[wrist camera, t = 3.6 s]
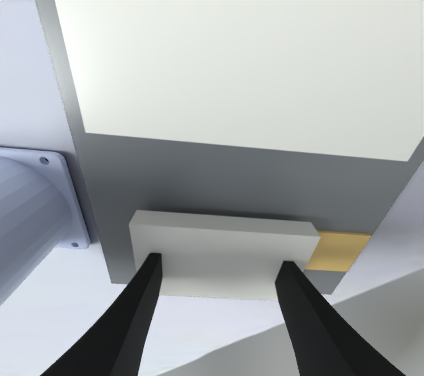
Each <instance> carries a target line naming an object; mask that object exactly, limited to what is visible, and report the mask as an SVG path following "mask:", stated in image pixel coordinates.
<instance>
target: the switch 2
mask: <svg viewBox="0 0 424 376" xmlns="http://www.w3.org/2000/svg"><path fill="white" fill-rule="evenodd" d="M129 229H130V235H131V241H132V247H133V254H134V260H135V266H136V273H137V271H138V270H139V268H140V267H141V266H142V264H143V263H144V261H145V259H146V258H147V256H148V255H149V254H150V253H161V254H162V272H163V278H162V283H161V288H160V293H159V295H164V296H185V297H206V298H227V299H248V300H269V301H278V297H277V293H276V288H275V280H276V278H277V275H278V273H279V270H280V268H281V266H282V263H283V261H294V262H295V263H296V265H297V266H298V267H299V268H300V270H301V271H302V272H303V271H304V269H305V267H306V265H307V264H308V262H309V260H310V258H311V256H312V254H313V252H314V250H315V248H316V246H317V244H318V242H319V240H320V238H321V236H320V235H319V233H318V232H317V230H316V229H315V227H314V226H313V225H312V223H311V222H302V221H288V220H274V219H259V218H245V217H231V216H217V215H203V214H188V213H174V212H160V211H146V210H136V212H135V214H134V216H133V218H132V219H131V221H130V223H129Z"/></svg>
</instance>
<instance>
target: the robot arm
mask: <svg viewBox="0 0 424 376" xmlns="http://www.w3.org/2000/svg"><path fill="white" fill-rule="evenodd" d="M45 158H46V159H48V161H49V162H47V161H46V160H45ZM90 244H91V242H90V239H89V236H88V232H87V229H86V226H85V223H84V219H83V216H82V213H81V209H80V206H79V203H78V200H77V196H76V193H75V190H74V187H73V183H72V180H71V177H70V174H69V170H68V167H67V164H66V161H65V159H64V157H63V156H62V155H61V154H59V153H57V152H50V151H38V150H26V149H14V148H2V147H0V306H1V305H2V304H3V303H4V302H5V300H6V299H7V298H8V297H9V296H10V295H11V294H12V293H13V292H14V291H15V290H16V289H17V287H18V286H19V285H20V284H21V283H22V282H23V281H24V280H25V279H26V278H27V277H28V276H29V274H30V273H31V272H32V271H33V270H34V269H35V268H36V267H37V266H38V265H39V264H40V263H41V261H42V260H43V259H44V258H45V257H46V256H47V255H48V254H49V253H50V252H51V251H52V249H53V248H69V249H87V248H88V247H89V246H90ZM162 278H163V272H162V254H161V253H150V254H149V255H148V256H147V258H146V259H145V261H144V263H143V264H142V266H141V267H140V268H139V270H138V271H137V273H136V274H135V276H134V277H133V278H132V280H131V281H130V282H129V284H128V285H127V286H126V288H125V289H124V290H123V291H122V293H121V294H120V295H119V296H118V297H117V299H116V300H115V301H114V302H113V304H112V305H111V306H110V307H109V308H108V309H107V310H106V312H105V313H104V314H103V315H102V316H101V317H100V318H99V319H98V320H97V321H96V323H95V324H94V325H93V326H92V327H91V328H90V329H89V330H88V331H87V332H86V333H85V334H84V335H83V336H82V337H81V338H80V339H79V340H78V341H77V342H76V343H75V344H74V345H73V346H72V347H71V348H70V349H69V350H68V351H66V352H65V353H64V354H63V355H62V356H61V357H60V358H59V359H58V360H57V361H56V362H55V363H53V364H52V365H51V366H50V367H49V368H48V369H47V370H46V371H45V372H44V373H42V374H41V375H40V376H138V371H139V367H140V362H141V357H142V353H143V348H144V344H145V341H146V337H147V334H148V330H149V327H150V324H151V320H152V317H153V314H154V310H155V307H156V304H157V300H158V297H159V293H160V288H161V283H162ZM275 288H276V293H277V297H278V301H279V305H280V308H281V311H282V314H283V317H284V320H285V323H286V326H287V329H288V332H289V336H290V339H291V342H292V345H293V349H294V352H295V356H296V360H297V365H298V369H299V373H300V376H406V375H404V374H403V373H402V372H401V371H400V370H398V369H397V368H396V367H395V366H394V365H392V364H391V363H390V362H389V361H388V360H387V359H385V358H384V357H383V356H382V355H381V354H380V353H379V352H378V351H377V350H375V349H374V348H373V347H372V346H371V345H370V344H369V343H368V342H367V341H365V340H364V339H363V338H362V337H361V336H360V335H359V334H358V333H357V332H356V331H355V330H354V329H353V328H352V327H351V326H350V325H349V324H348V323H347V322H346V321H345V320H344V319H343V318H342V317H341V316H340V315H339V314H338V313H337V312H336V310H335V309H334V308H333V307H332V306H331V305H330V304H329V303H328V302H327V301H326V299H325V298H324V297H323V296H322V295H321V294H320V292H319V291H318V290H317V289H316V288H315V287H314V285H313V284H312V283H311V282H310V281H309V279H308V278H307V277H306V276H305V274H304V273H303V272H302V271H301V270H300V268H299V267H298V266H297V265H296V263H295V262H294V261H283V263H282V266H281V268H280V270H279V273H278V275H277V278H276V280H275Z"/></svg>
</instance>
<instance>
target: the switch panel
mask: <svg viewBox="0 0 424 376" xmlns="http://www.w3.org/2000/svg"><path fill="white" fill-rule="evenodd" d="M35 3H36V6H37V10H38V14H39V17H40V21H41V25H42V28H43V32H44V36H45V39H46V43H47V47H48V51H49V54H50V58H51V62H52V65H53V69H54V73H55V76H56V80H57V84H58V87H59V91H60V95H61V98H62V102H63V106H64V110H65V113H66V117H67V121H68V124H69V128H70V132H71V135H72V139H73V143H74V146H75V150H76V154H77V158H78V161H79V165H80V169H81V172H82V176H83V180H84V183H85V187H86V191H87V194H88V198H89V202H90V205H91V209H92V213H93V217H94V220H95V224H96V228H97V231H98V235H99V239H100V242H101V246H102V250H103V253H104V257H105V261H106V265H107V268H108V272H109V276H110V279H111V283H115V284H129V282H130V281H131V280H132V278H133V277H134V276H135V274H136V266H135V260H134V254H133V247H132V241H131V235H130V229H129V223H130V221H131V219H132V218H133V216H134V214H135V212H136V210H146V211H160V212H174V213H188V214H203V215H217V216H231V217H245V218H259V219H274V220H288V221H302V222H311V223H312V225H313V226H314V227H315V229H316V230H317V232H318V233H319V235H320V236H321V238H320V240H319V242H318V244H317V246H316V248H315V250H314V252H313V254H312V256H311V258H310V260H309V262H308V264H307V265H306V267H305V269H304V271H303V273H304V274H305V276H306V277H307V278H308V279H309V281H310V282H311V283H312V284H313V285H314V287H315V288H316V289H317V290H318V291H319V292H320V294H332V293H333V291H334V290H335V288H336V287H337V285H338V284H339V282H340V281H341V279H342V278H343V276H344V275H345V274H346V272H347V271H348V270H349V269H350V267H351V266H352V264H353V263H354V261H355V260H356V258H357V257H358V255H359V254H360V253H361V251H362V250H363V248H364V247H365V245H366V244H367V242H368V241H369V239H370V238H371V237H372V234H373V233H374V231H375V230H376V228H377V227H378V225H379V224H380V222H381V221H382V219H383V218H384V217H385V215H386V214H387V212H388V211H389V209H390V208H391V206H392V205H393V203H394V202H395V200H396V199H397V198H398V196H399V195H400V193H401V192H402V190H403V189H404V187H405V186H406V184H407V183H408V182H409V180H410V179H411V177H412V176H413V174H414V173H415V171H416V170H417V168H418V167H419V165H420V164H421V163H422V161H423V160H424V137H423V138H422V140H421V141H420V143H419V144H418V146H417V147H416V149H415V151H414V152H413V154H412V155H411V157H410V158H409V160H408V161H396V160H385V159H374V158H363V157H352V156H341V155H330V154H318V153H307V152H296V151H285V150H274V149H263V148H252V147H241V146H230V145H218V144H207V143H196V142H185V141H174V140H163V139H152V138H141V137H129V136H118V135H107V134H96V133H86V132H85V128H84V124H83V119H82V115H81V111H80V107H79V102H78V98H77V94H76V89H75V85H74V81H73V77H72V72H71V68H70V64H69V59H68V55H67V51H66V46H65V42H64V38H63V34H62V29H61V25H60V21H59V16H58V12H57V8H56V4H55V0H35Z"/></svg>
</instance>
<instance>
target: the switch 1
mask: <svg viewBox="0 0 424 376" xmlns="http://www.w3.org/2000/svg"><path fill="white" fill-rule="evenodd" d="M55 4H56V8H57V12H58V16H59V21H60V25H61V29H62V34H63V38H64V42H65V46H66V51H67V55H68V59H69V64H70V68H71V72H72V77H73V81H74V85H75V89H76V94H77V98H78V102H79V107H80V111H81V115H82V119H83V124H84V128H85V132H86V133H96V134H107V135H118V136H129V137H141V138H152V139H163V140H174V141H185V142H196V143H207V144H218V145H230V146H241V147H252V148H263V149H274V150H285V151H296V152H307V153H318V154H330V155H341V156H352V157H363V158H374V159H385V160H396V161H408V160H409V158H410V157H411V155H412V154H413V152H414V151H415V149H416V147H417V146H418V144H419V143H420V141H421V140H422V138H423V137H424V0H55Z"/></svg>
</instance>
